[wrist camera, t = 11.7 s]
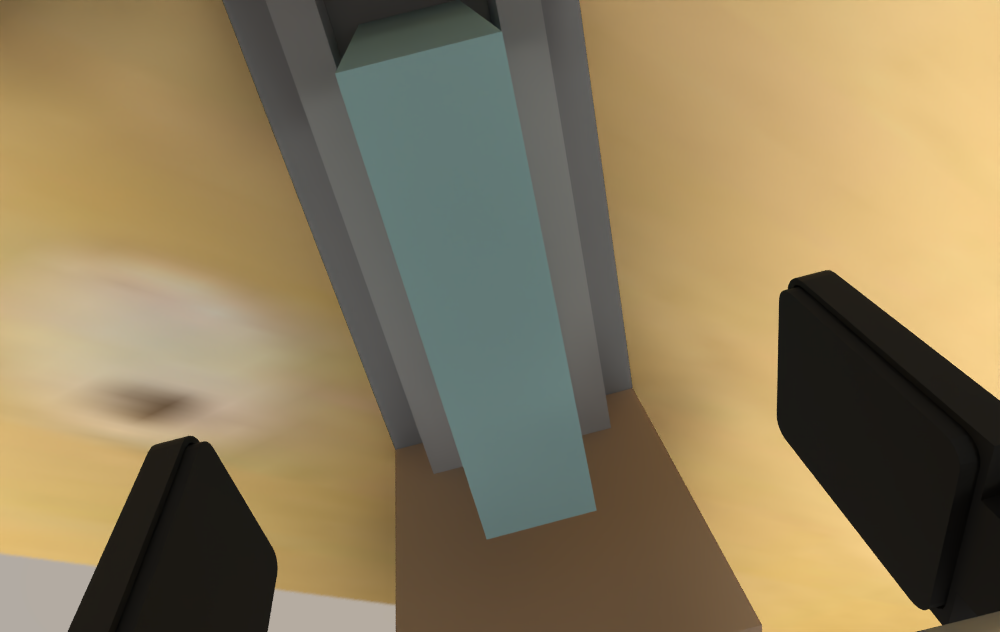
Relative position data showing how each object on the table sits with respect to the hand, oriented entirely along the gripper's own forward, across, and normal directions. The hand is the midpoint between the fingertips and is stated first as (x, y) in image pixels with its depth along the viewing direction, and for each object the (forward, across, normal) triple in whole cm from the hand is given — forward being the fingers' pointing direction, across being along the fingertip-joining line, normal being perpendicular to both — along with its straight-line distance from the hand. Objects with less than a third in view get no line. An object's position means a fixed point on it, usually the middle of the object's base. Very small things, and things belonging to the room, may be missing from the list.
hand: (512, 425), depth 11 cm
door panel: (+13, 0, +1) cm, 13 cm away
